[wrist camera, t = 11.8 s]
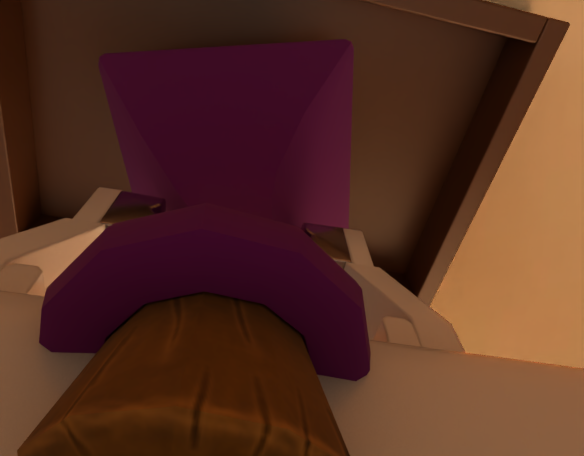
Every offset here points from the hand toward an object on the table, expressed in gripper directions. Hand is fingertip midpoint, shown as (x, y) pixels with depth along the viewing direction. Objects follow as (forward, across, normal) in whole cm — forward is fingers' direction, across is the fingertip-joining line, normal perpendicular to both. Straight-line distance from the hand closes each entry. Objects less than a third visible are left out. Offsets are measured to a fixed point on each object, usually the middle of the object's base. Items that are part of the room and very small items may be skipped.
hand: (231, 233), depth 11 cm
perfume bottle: (+8, 0, 0) cm, 8 cm away
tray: (+8, 0, 0) cm, 8 cm away
